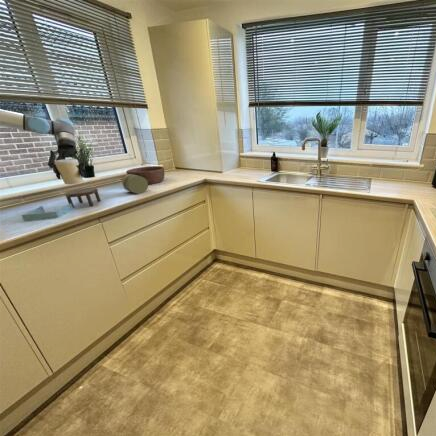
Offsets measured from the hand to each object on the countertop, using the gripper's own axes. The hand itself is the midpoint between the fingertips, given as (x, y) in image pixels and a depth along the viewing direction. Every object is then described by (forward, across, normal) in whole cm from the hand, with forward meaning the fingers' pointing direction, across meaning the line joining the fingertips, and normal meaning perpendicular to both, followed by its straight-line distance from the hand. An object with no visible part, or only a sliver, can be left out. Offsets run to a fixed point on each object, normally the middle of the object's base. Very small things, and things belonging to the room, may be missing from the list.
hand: (70, 176), depth 125 cm
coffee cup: (+1, 0, -5) cm, 5 cm away
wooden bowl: (-21, -33, -45) cm, 60 cm away
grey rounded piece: (-1, -26, -25) cm, 36 cm away
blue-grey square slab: (+16, +12, -8) cm, 21 cm away
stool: (+9, -1, -15) cm, 18 cm away
